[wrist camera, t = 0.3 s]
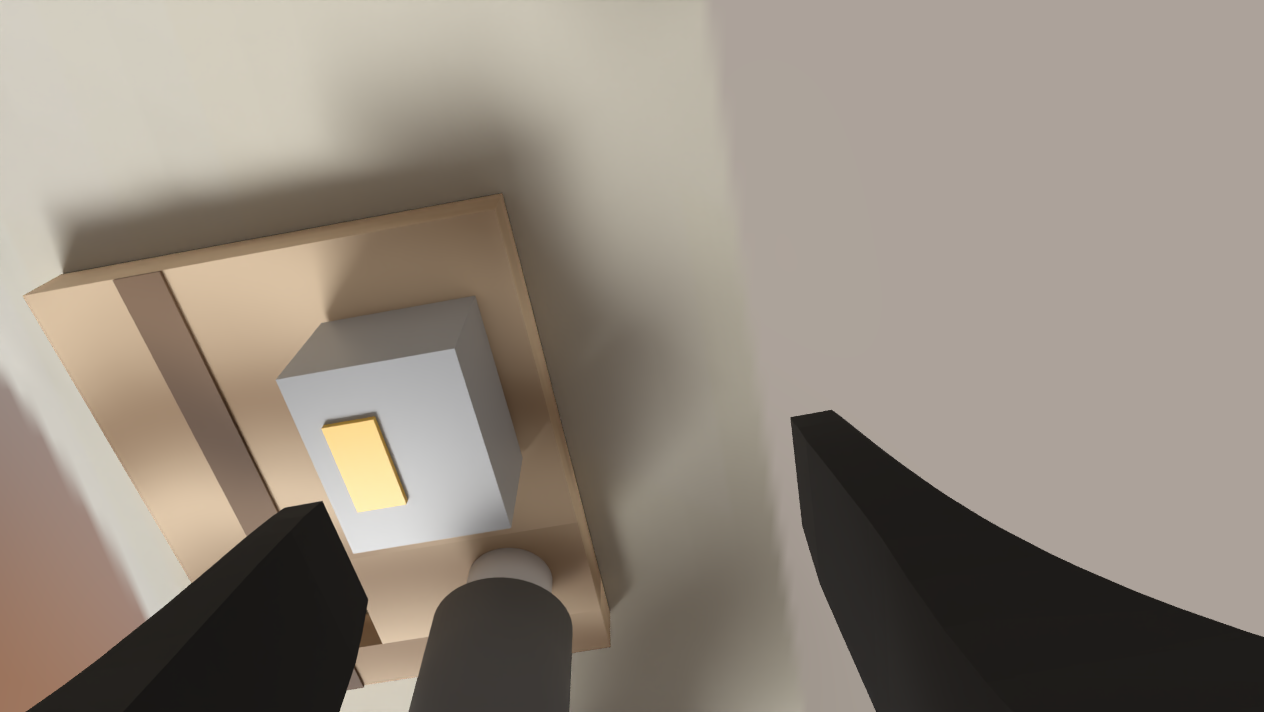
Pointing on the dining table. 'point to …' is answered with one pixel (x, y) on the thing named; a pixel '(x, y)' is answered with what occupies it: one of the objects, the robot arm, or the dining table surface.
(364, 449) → the block
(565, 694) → the dark grey piece
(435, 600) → the plank
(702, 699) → the dining table surface
